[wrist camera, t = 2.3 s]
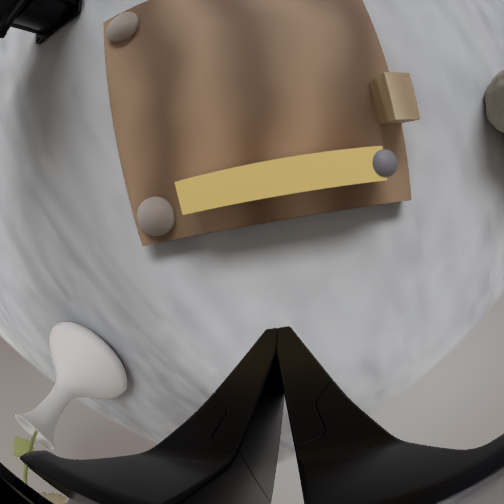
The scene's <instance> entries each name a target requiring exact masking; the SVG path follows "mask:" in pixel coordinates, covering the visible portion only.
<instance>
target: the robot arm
mask: <svg viewBox="0 0 504 504" xmlns="http://www.w3.org/2000/svg"><path fill="white" fill-rule="evenodd" d="M80 11H81V0H0V38H4V37H5V35H6V34H7V31H8V29H9V28H10V27H14V28H18V29H22V30H25V31H29V32H32V33H36V44H41V43H42V42H43V41H44V40H45V39H47V38H48V37H49V36H50V35H52V34H53V33H54V32H55V31H57V30H58V29H59V28H61V27H62V26H64V25H65V24H66V23H68V22H69V21H71V20H72V19H73V18H75V17H76V16H78V15H79V13H80ZM284 395H285V400H286V405H287V410H288V415H289V421H290V426H291V431H292V436H293V442H294V447H295V452H296V458H297V463H298V469H299V474H300V480H301V486H302V492H303V498H304V504H504V434H503V435H501V436H500V437H498V438H496V439H495V440H493V441H492V442H490V443H488V444H486V445H484V446H482V447H478V448H475V449H468V450H455V449H447V448H439V447H432V446H426V445H420V444H414V443H409V442H405V441H402V440H400V439H398V438H396V437H394V436H393V435H391V434H390V433H388V432H387V431H386V430H385V429H384V428H382V427H381V426H380V425H378V423H376V422H375V421H374V420H373V419H372V418H370V417H369V416H368V415H367V414H366V413H365V412H363V411H362V410H361V409H360V408H359V407H358V406H357V405H356V404H354V403H353V402H352V401H351V400H350V399H349V398H348V397H347V396H346V394H345V393H344V392H343V391H342V390H341V389H340V388H339V386H338V385H337V384H336V383H335V382H334V381H333V379H332V378H331V377H330V376H329V374H328V373H327V372H326V371H325V369H324V368H323V367H322V366H321V364H320V363H319V362H318V361H317V360H316V358H315V357H314V356H313V355H312V353H311V352H310V351H309V350H308V348H307V347H306V346H305V345H304V343H303V342H302V341H301V340H300V338H299V337H298V336H297V335H296V333H295V332H294V331H293V329H292V328H291V327H289V326H288V327H281V328H273V329H267V330H265V331H264V333H263V334H262V335H261V337H260V338H259V339H258V340H257V342H256V343H255V344H254V345H253V347H252V348H251V349H250V350H249V352H248V353H247V354H246V355H245V356H244V358H243V359H242V360H241V361H240V363H239V364H238V365H237V366H236V367H235V369H234V370H233V371H232V372H231V373H230V375H229V376H228V377H227V378H226V379H225V380H224V382H223V383H222V384H221V385H220V386H219V388H218V389H217V390H216V392H214V393H213V394H212V395H211V397H210V398H209V399H208V400H207V401H206V402H205V403H204V404H203V405H202V406H201V407H200V408H199V410H198V411H196V412H195V413H194V414H193V415H192V416H191V417H190V418H189V419H188V420H187V421H186V422H184V423H183V424H182V425H181V426H180V427H179V428H177V429H176V430H175V431H174V432H173V433H171V434H170V435H169V436H168V437H166V438H165V439H164V440H163V441H162V442H160V443H159V444H158V445H156V446H155V447H153V448H152V449H150V450H148V451H146V452H143V453H140V454H135V455H128V456H121V457H112V458H101V459H87V460H73V459H65V458H61V457H58V456H56V455H54V454H52V453H50V452H48V451H44V450H43V451H32V452H28V453H25V454H23V455H22V456H20V459H21V460H22V461H23V462H24V463H25V464H26V465H27V466H28V467H29V468H30V469H31V470H33V471H34V472H35V473H36V474H38V475H39V476H40V477H41V478H43V479H44V480H45V481H46V482H48V483H49V484H50V485H52V486H53V487H55V488H56V489H57V490H59V491H60V492H61V493H63V494H64V495H66V496H67V497H69V501H68V503H67V504H271V500H272V493H273V486H274V479H275V473H276V465H277V458H278V450H279V442H280V433H281V425H282V415H283V406H284ZM0 504H54V503H52V502H51V501H49V500H48V499H46V498H45V497H43V496H42V495H40V494H39V493H38V492H36V491H35V490H33V489H32V488H31V487H29V486H28V485H27V484H25V483H24V482H23V481H22V480H20V479H19V478H18V477H16V476H15V475H14V474H13V473H12V472H11V471H9V470H8V469H7V468H6V467H5V466H4V465H2V464H1V463H0Z"/></svg>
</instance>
